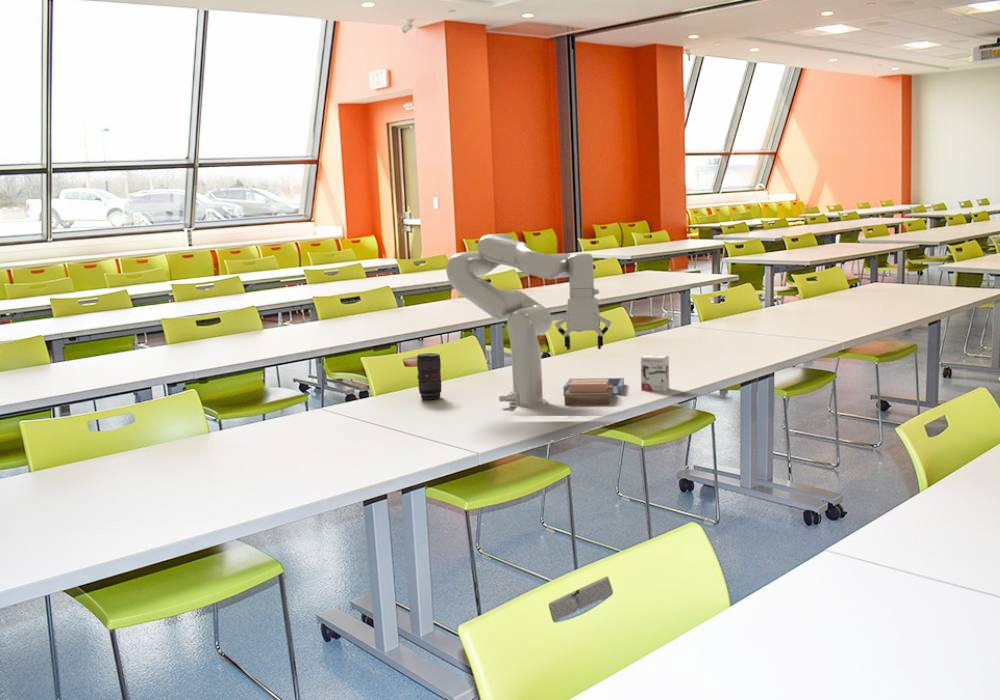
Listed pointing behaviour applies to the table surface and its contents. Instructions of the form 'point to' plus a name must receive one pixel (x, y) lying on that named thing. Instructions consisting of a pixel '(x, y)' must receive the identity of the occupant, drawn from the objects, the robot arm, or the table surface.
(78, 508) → the table surface
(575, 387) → the tile
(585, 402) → the plate
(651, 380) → the ink box
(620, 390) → the tray
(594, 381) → the tile
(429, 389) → the camera lens
